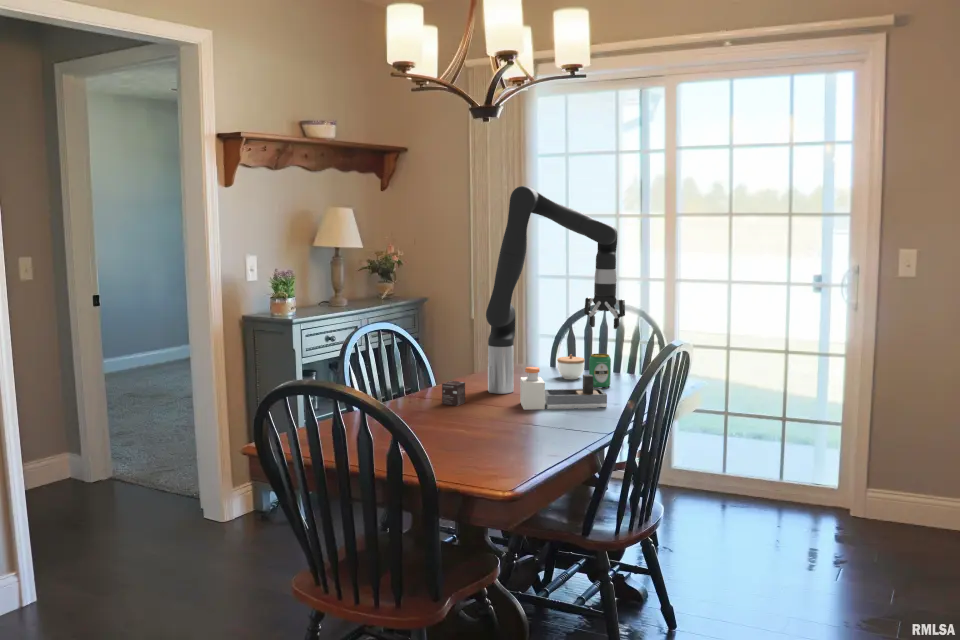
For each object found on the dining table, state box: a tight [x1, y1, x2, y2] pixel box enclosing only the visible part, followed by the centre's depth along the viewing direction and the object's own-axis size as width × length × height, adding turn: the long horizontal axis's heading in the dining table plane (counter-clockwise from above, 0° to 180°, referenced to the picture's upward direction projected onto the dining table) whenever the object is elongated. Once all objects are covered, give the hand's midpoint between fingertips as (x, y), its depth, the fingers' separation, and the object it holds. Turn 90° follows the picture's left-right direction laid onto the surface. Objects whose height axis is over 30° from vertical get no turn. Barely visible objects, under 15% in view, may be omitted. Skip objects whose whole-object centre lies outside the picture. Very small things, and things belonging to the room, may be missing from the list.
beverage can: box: [588, 353, 612, 388], centre depth 310 cm, size 8×8×12 cm
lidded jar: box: [556, 354, 586, 380], centre depth 327 cm, size 11×11×9 cm
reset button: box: [524, 366, 541, 381], centre depth 278 cm, size 5×5×5 cm
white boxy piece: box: [519, 376, 546, 410], centre depth 279 cm, size 7×10×9 cm
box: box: [441, 380, 466, 407], centre depth 283 cm, size 6×6×7 cm
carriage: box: [576, 374, 599, 395], centre depth 280 cm, size 7×7×8 cm
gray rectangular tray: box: [545, 388, 608, 410], centre depth 280 cm, size 20×10×4 cm, turn 94°
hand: (604, 327), depth 290 cm, fingers open, 8 cm apart
